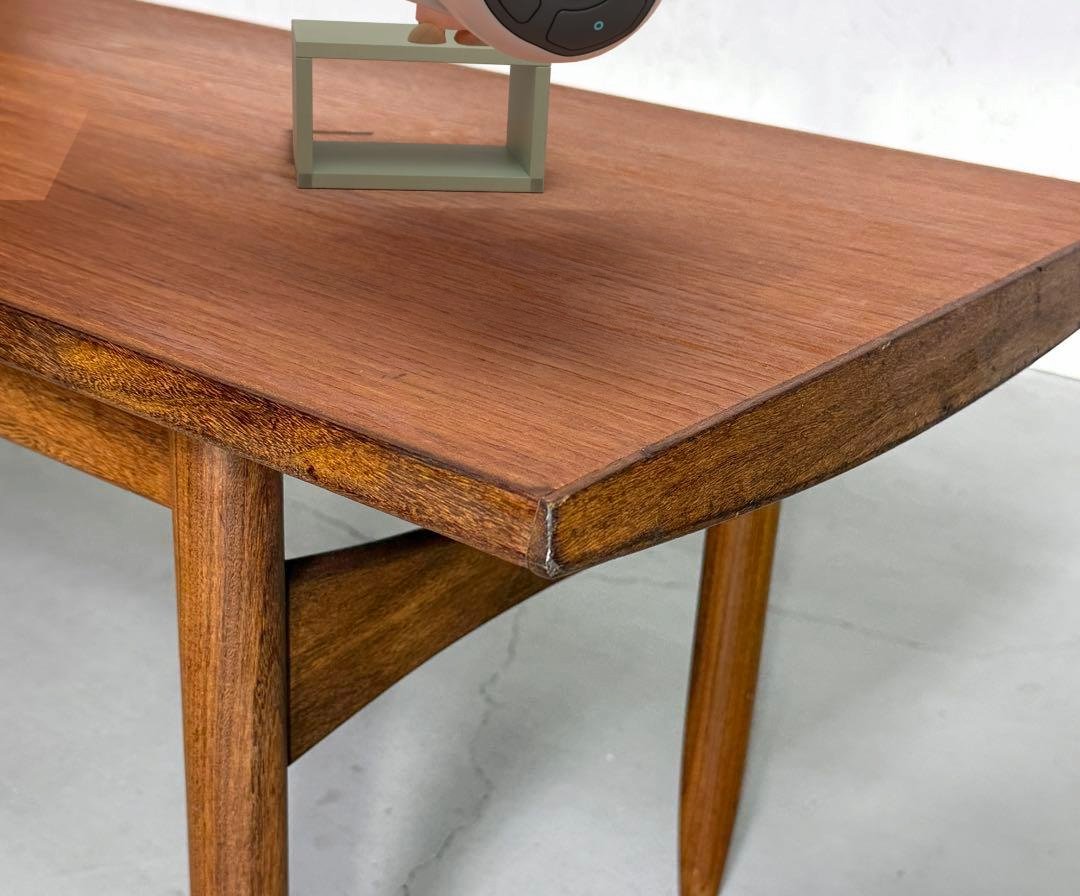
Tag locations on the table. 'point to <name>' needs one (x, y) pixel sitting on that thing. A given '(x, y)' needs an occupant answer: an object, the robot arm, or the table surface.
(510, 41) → the robot arm
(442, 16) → the grandmother figurine
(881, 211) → the table surface
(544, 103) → the frame
